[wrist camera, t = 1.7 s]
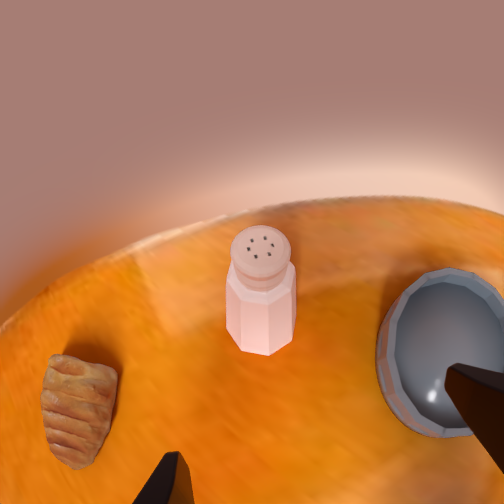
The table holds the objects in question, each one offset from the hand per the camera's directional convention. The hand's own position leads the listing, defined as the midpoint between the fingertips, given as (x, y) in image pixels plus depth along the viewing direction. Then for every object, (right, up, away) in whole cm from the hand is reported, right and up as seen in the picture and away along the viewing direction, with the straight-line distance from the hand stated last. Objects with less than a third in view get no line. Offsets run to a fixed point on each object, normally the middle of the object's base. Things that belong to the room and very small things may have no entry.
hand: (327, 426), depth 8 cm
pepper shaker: (-2, 0, +16) cm, 16 cm away
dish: (+14, -3, +13) cm, 20 cm away
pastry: (-16, -7, +13) cm, 21 cm away
